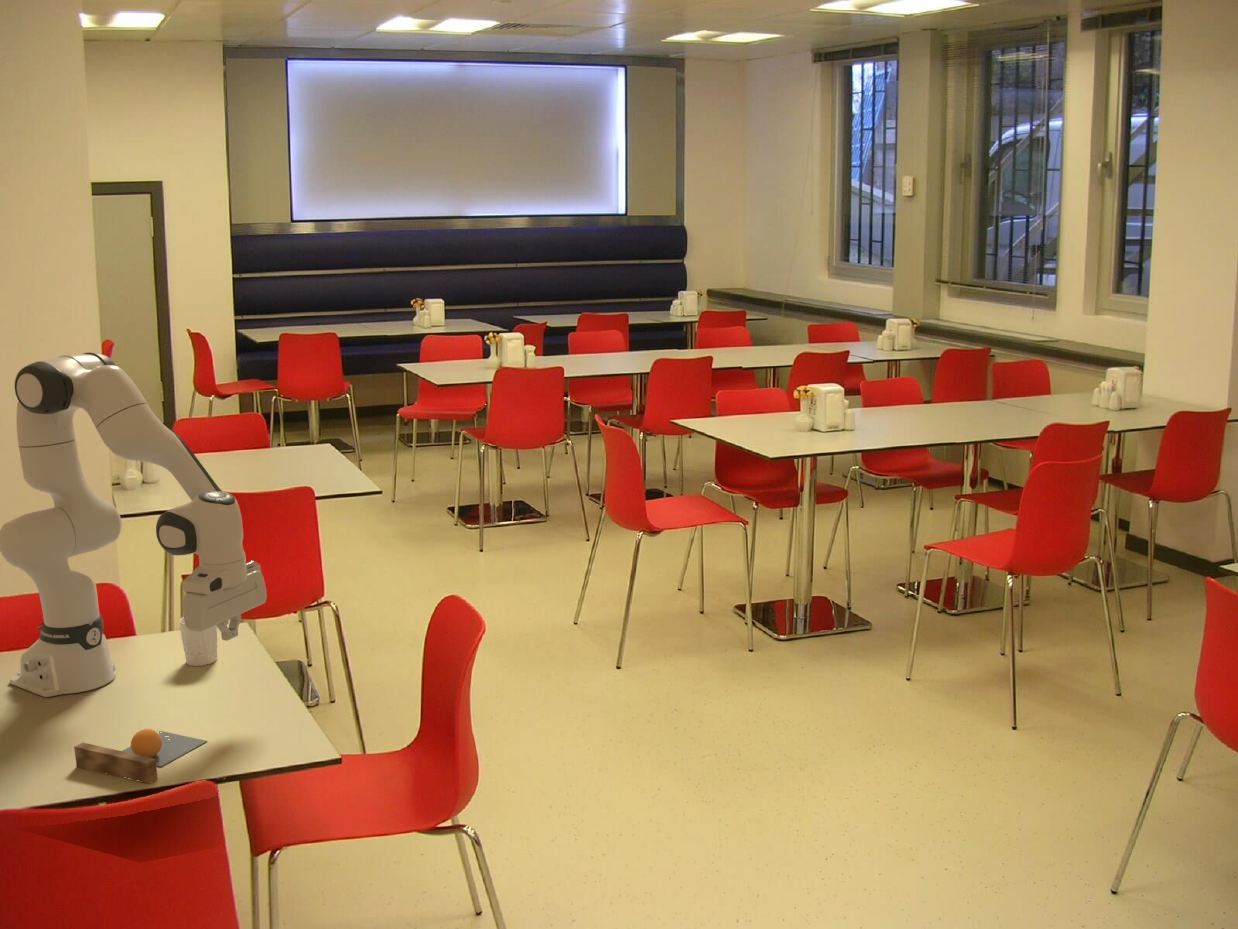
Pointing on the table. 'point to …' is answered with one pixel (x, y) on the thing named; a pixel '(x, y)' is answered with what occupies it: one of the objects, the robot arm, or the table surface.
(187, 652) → the white cup
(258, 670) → the table surface
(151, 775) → the stopper wall
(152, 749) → the ball
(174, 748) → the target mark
